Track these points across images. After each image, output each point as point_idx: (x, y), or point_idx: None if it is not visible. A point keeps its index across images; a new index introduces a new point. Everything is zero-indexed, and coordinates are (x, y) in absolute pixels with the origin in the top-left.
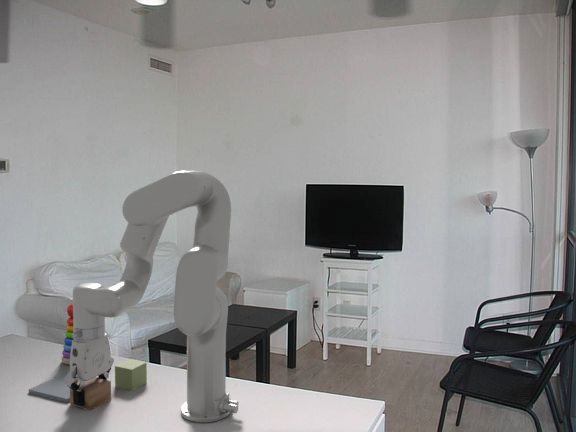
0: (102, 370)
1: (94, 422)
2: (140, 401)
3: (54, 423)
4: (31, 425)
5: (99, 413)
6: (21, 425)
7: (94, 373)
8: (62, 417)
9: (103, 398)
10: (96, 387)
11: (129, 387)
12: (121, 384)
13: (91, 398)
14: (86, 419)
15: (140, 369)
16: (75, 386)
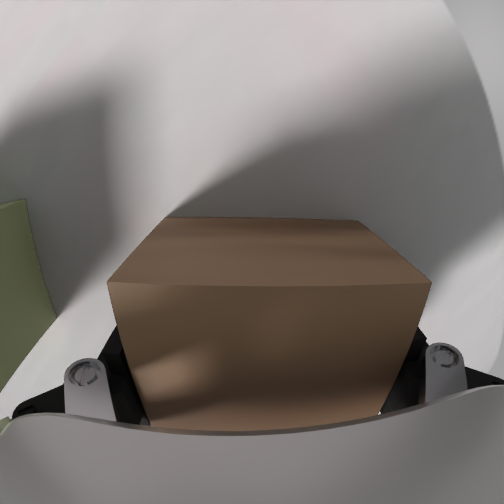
0: (177, 477)
1: (451, 92)
2: (104, 27)
3: (490, 269)
4: (496, 323)
5: (371, 131)
6: (492, 346)
7: (404, 467)
8: (451, 286)
9: (237, 228)
10: (335, 296)
11: (19, 225)
12: (30, 288)
13: (378, 249)
14: (446, 156)
15: None
16: (481, 385)
